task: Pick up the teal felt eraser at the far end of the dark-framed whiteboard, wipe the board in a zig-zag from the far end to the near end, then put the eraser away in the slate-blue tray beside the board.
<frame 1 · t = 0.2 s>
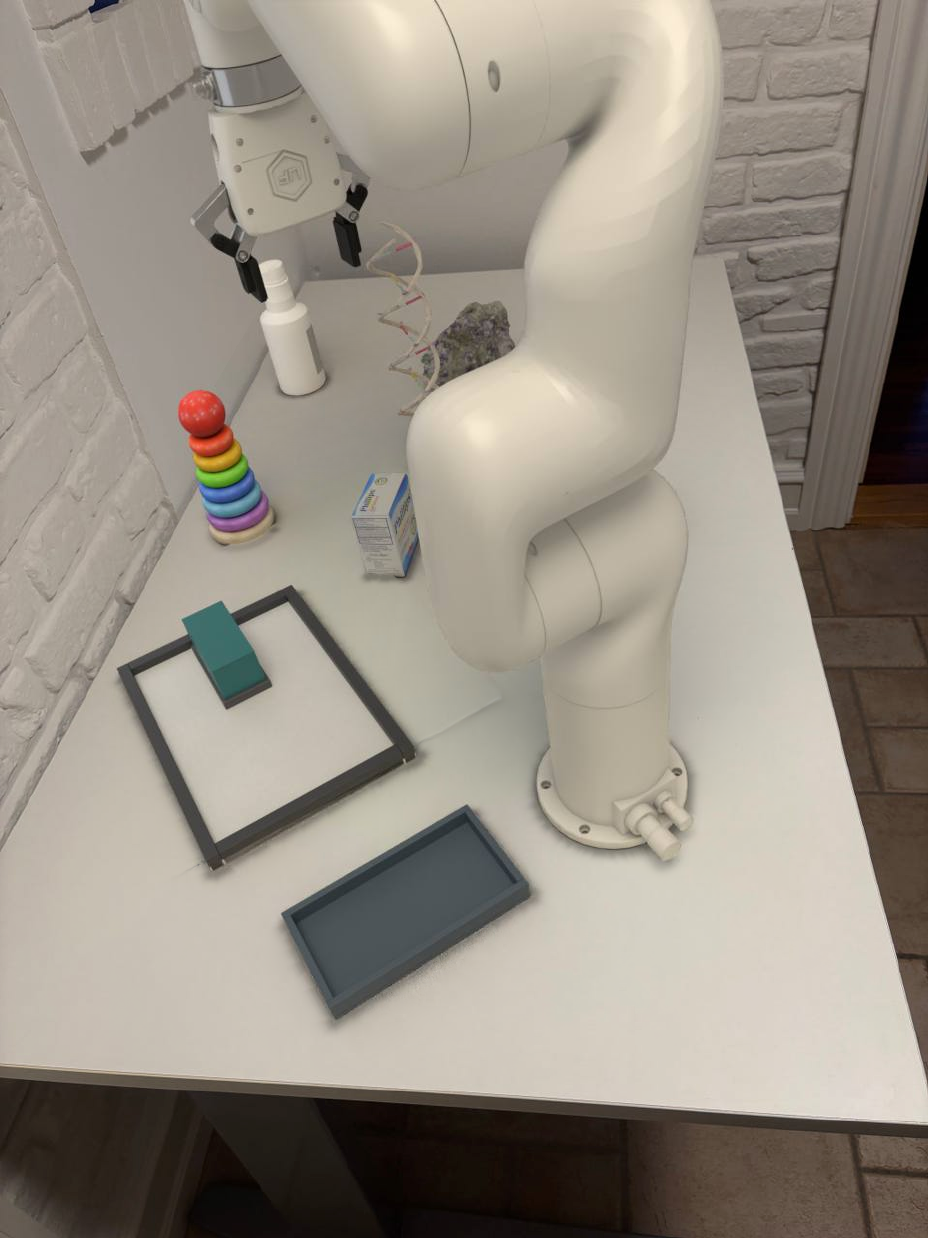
hand: (306, 279, 90), 31 cm above the table, tool pointing down, fingers open, 9 cm apart
spray bottle: (303, 385, 140), on the table
eraser: (232, 669, 97), point 1 cm above the table, touching whiteboard
dna model: (434, 468, 120), on the table
tray: (408, 911, 75), on the table
medicine box: (394, 556, 108), on the table
whiteboard: (259, 716, 93), on the table
mineral rock: (472, 372, 136), on the table
disk drive: (590, 525, 107), on the table
stacking toy: (244, 528, 116), on the table
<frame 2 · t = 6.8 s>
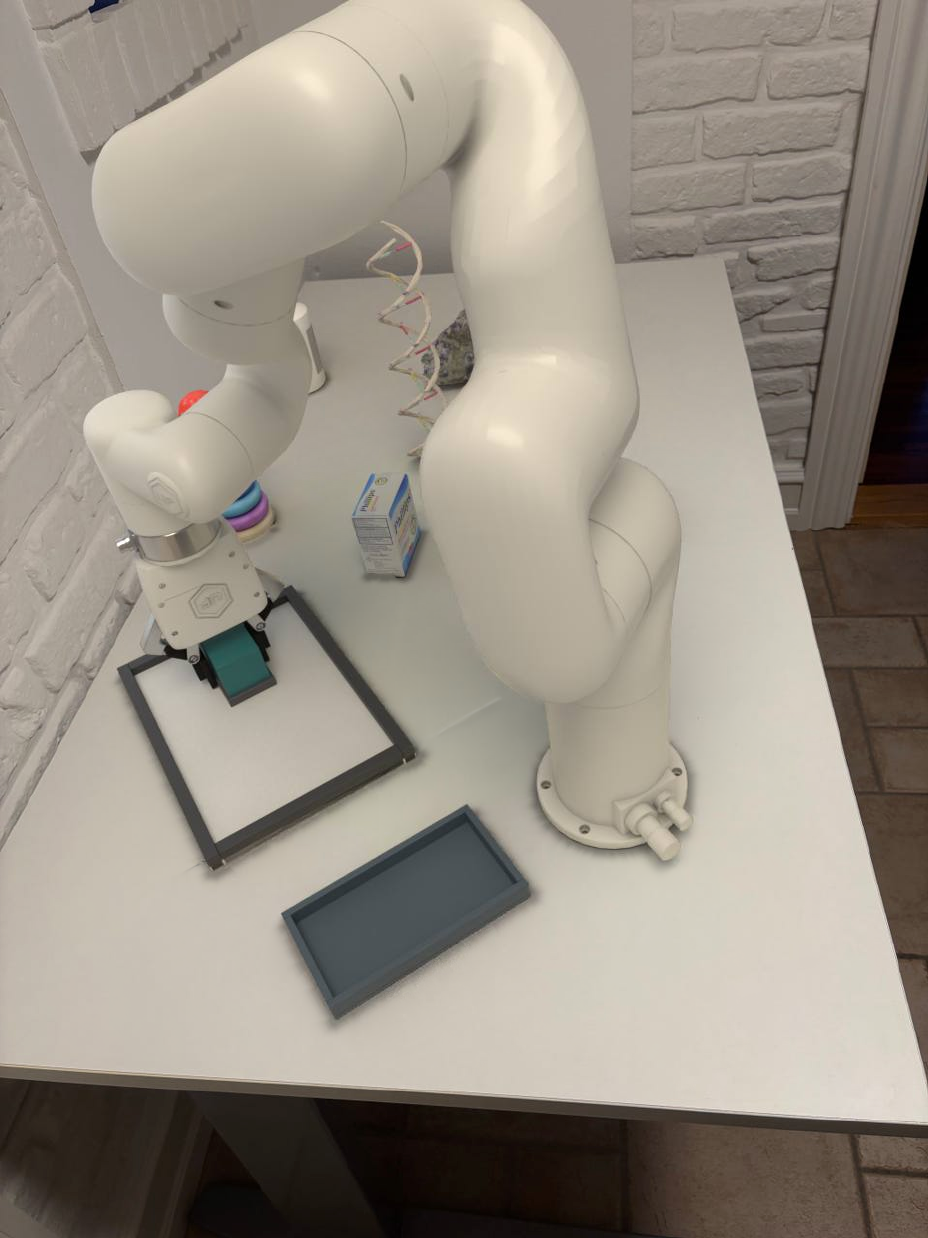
hand: (236, 665, 97), 1 cm above the table, tool pointing down, fingers closed on eraser, 5 cm apart
eraser: (236, 667, 97), point 1 cm above the table, touching gripper
everything else where it was.
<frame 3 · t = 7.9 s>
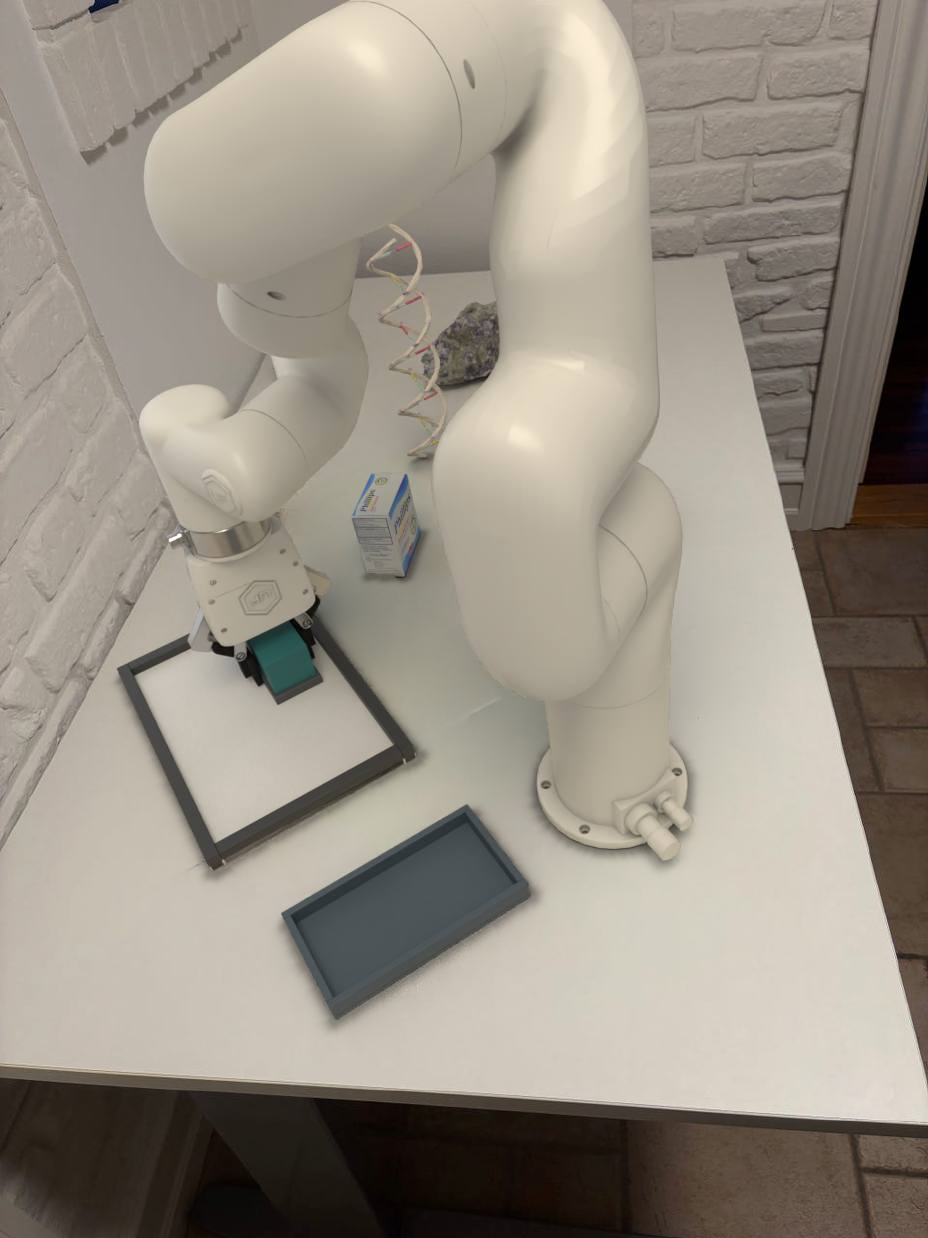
hand: (281, 663, 96), 1 cm above the table, tool pointing down, fingers closed on eraser, 5 cm apart
eraser: (281, 664, 97), point 1 cm above the table, touching gripper
everything else where it was.
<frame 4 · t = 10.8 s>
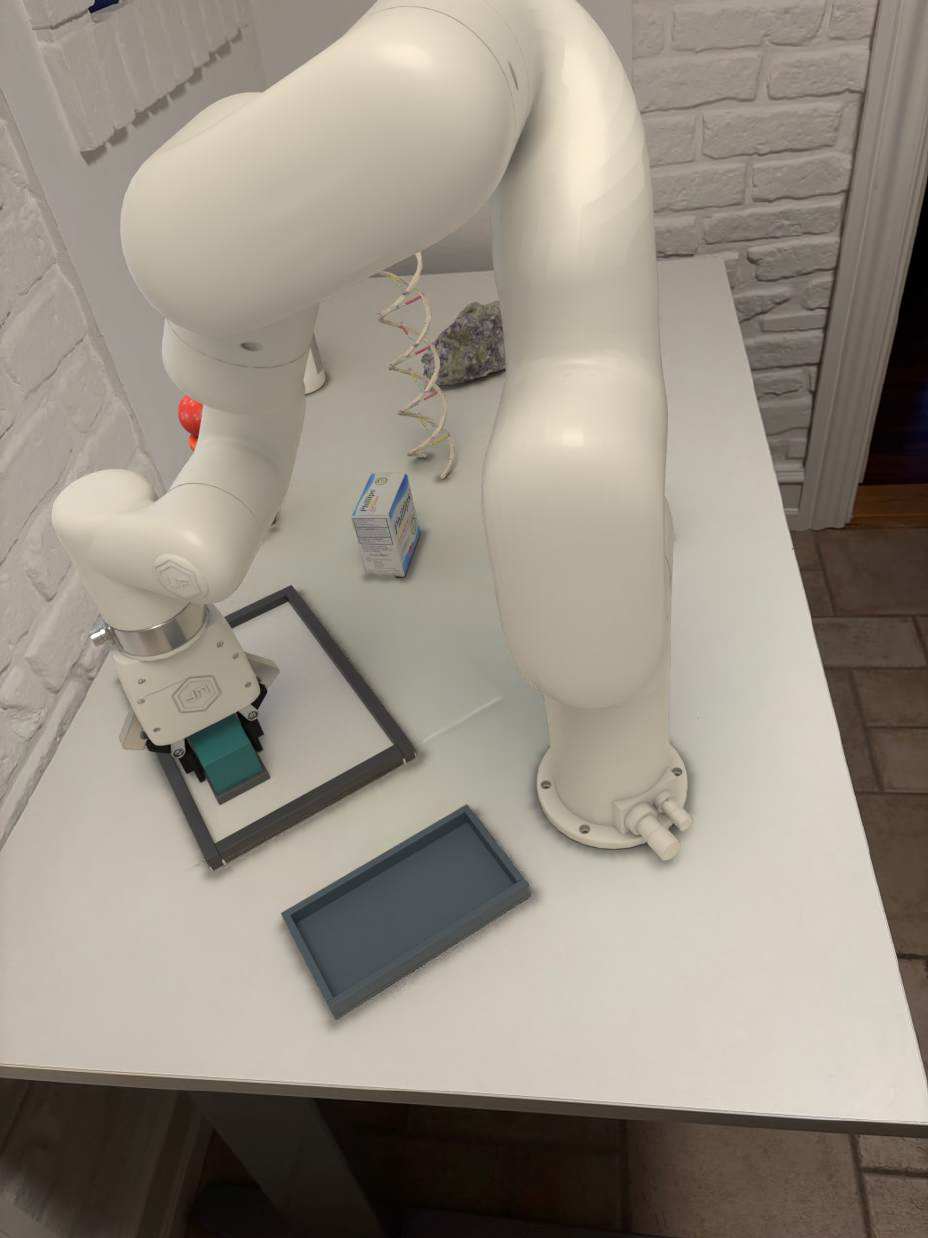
hand: (226, 755, 89), 1 cm above the table, tool pointing down, fingers closed on eraser, 5 cm apart
eraser: (226, 756, 89), point 1 cm above the table, touching gripper
everything else where it was.
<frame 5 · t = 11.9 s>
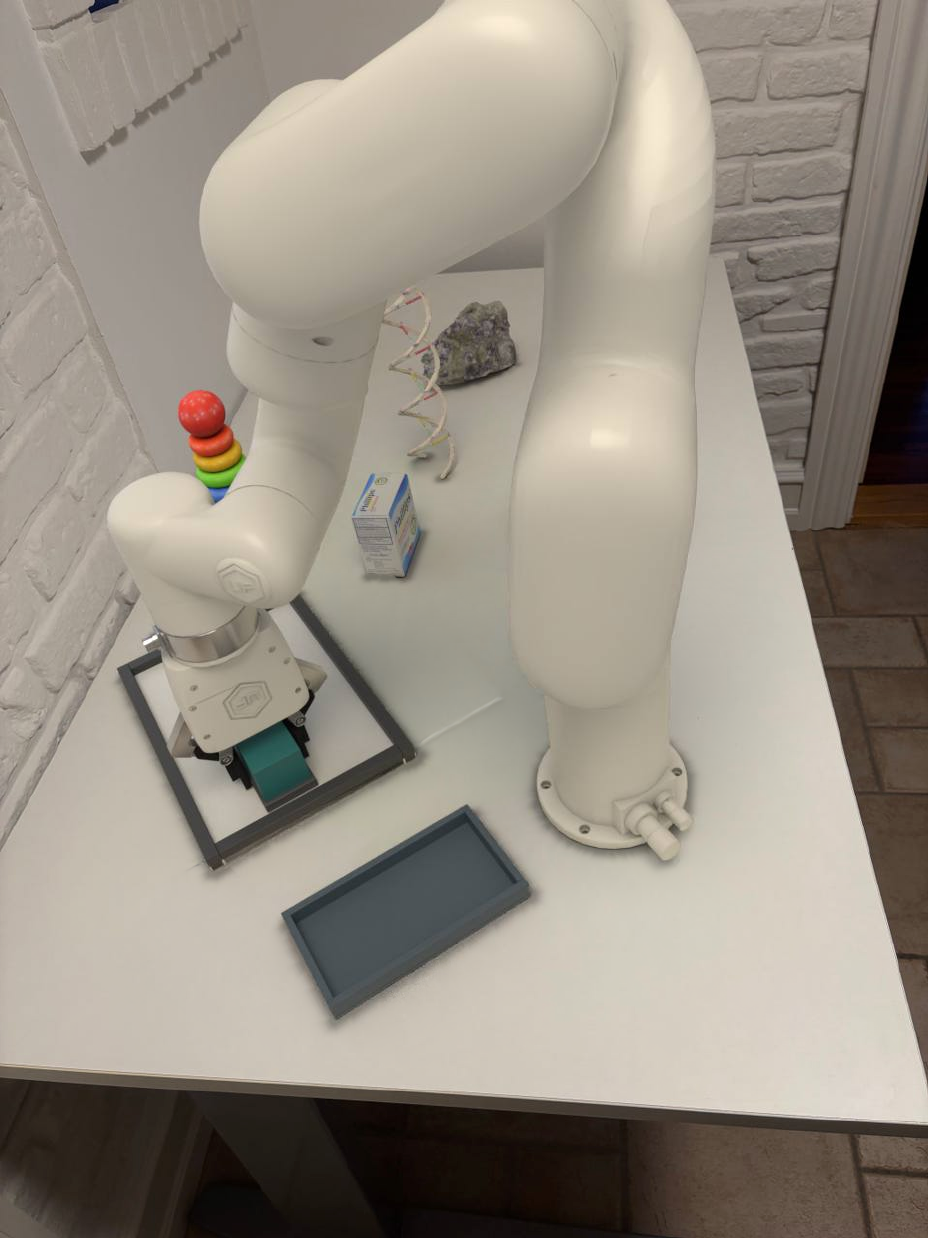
hand: (271, 761, 87), 1 cm above the table, tool pointing down, fingers closed on eraser, 5 cm apart
eraser: (272, 763, 87), point 1 cm above the table, touching gripper
everything else where it was.
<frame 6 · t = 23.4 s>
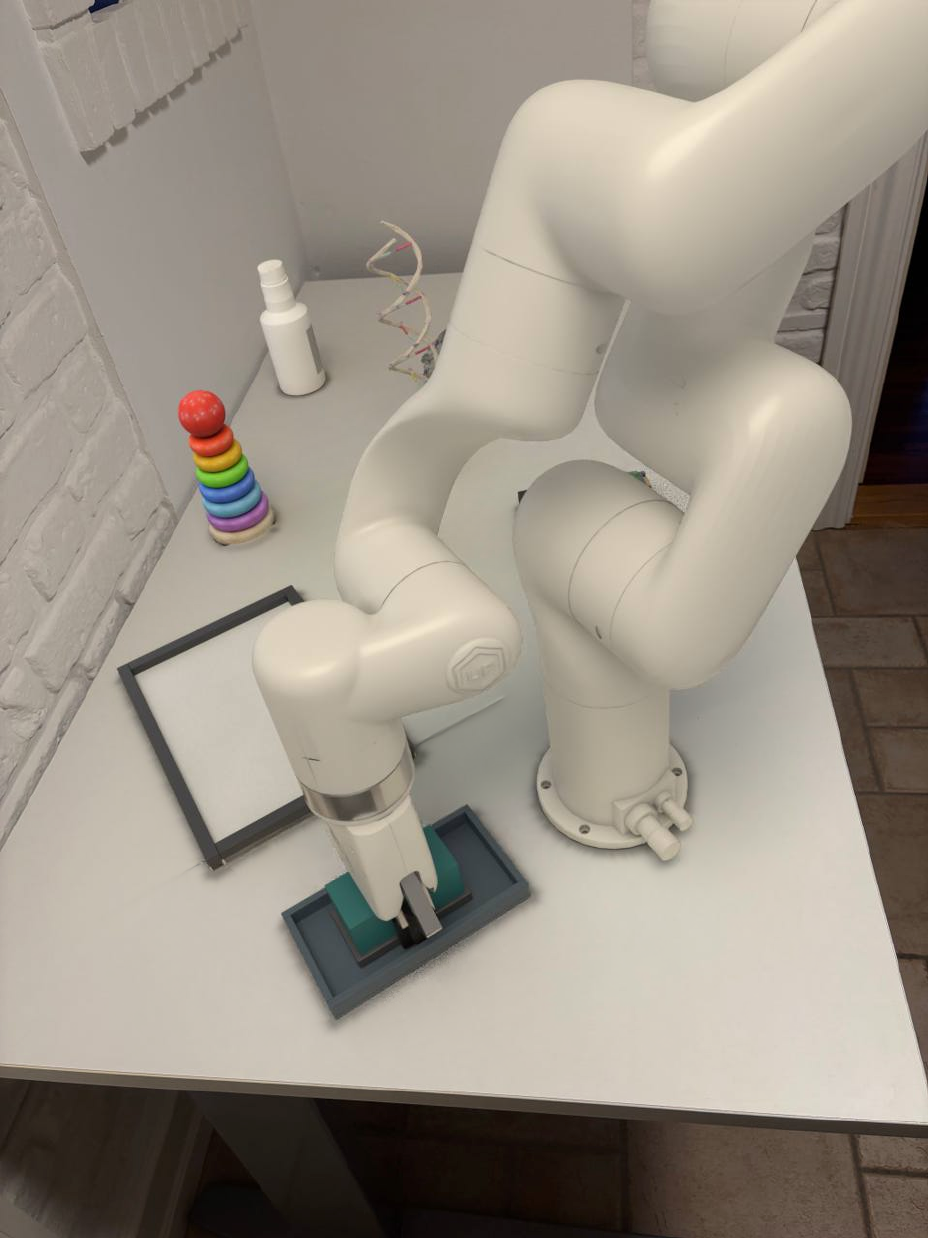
hand: (403, 907, 75), 1 cm above the table, tool pointing down, fingers closed on eraser, 4 cm apart
eraser: (402, 909, 75), point 1 cm above the table, touching gripper
everything else where it was.
when the fingers open (2 cm above the table, at t = 27.4 s): eraser drops 1 cm, resting on tray.
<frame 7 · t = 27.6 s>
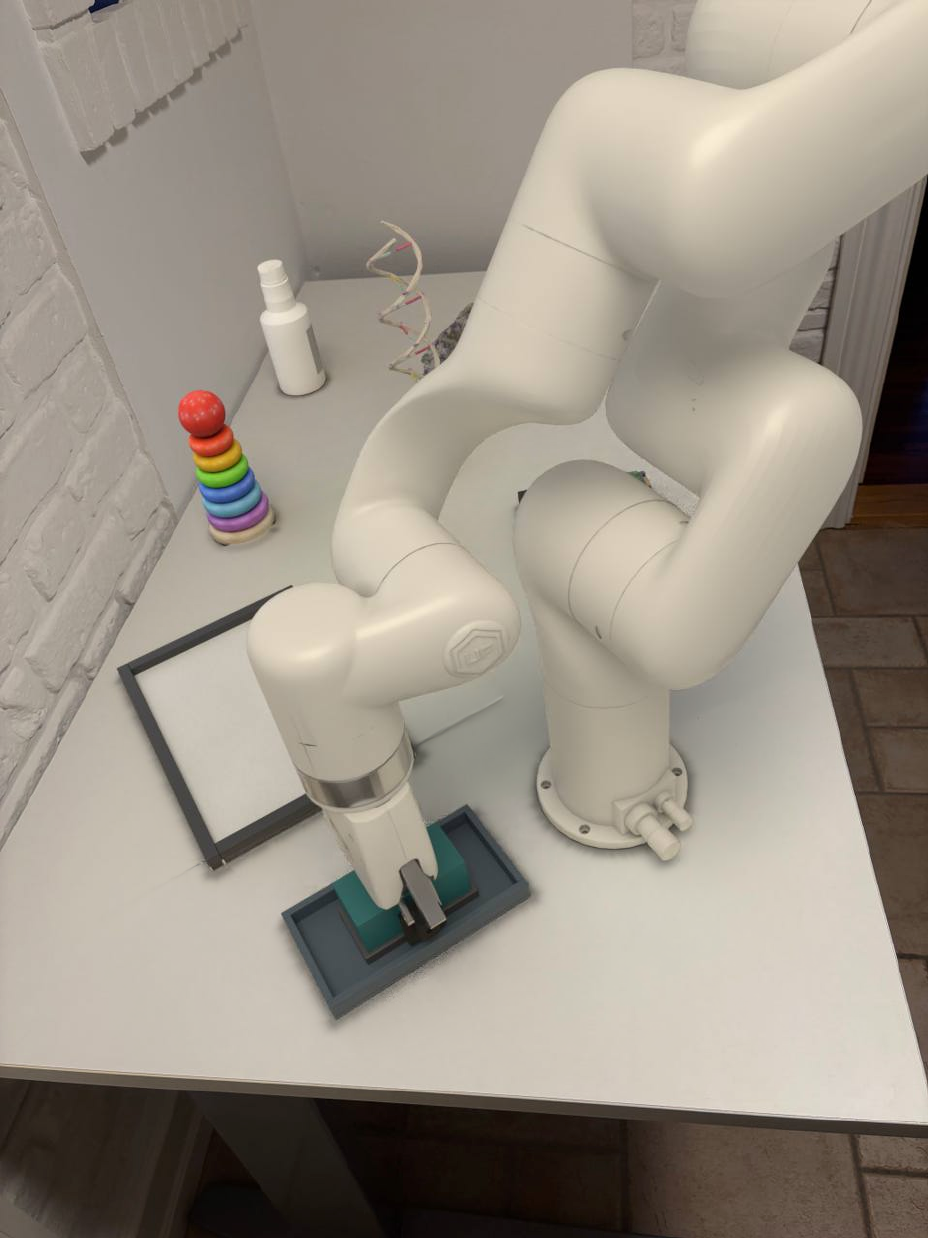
hand: (403, 894, 74), 2 cm above the table, tool pointing down, fingers open, 6 cm apart
eraser: (409, 906, 75), resting on tray
everything else where it was.
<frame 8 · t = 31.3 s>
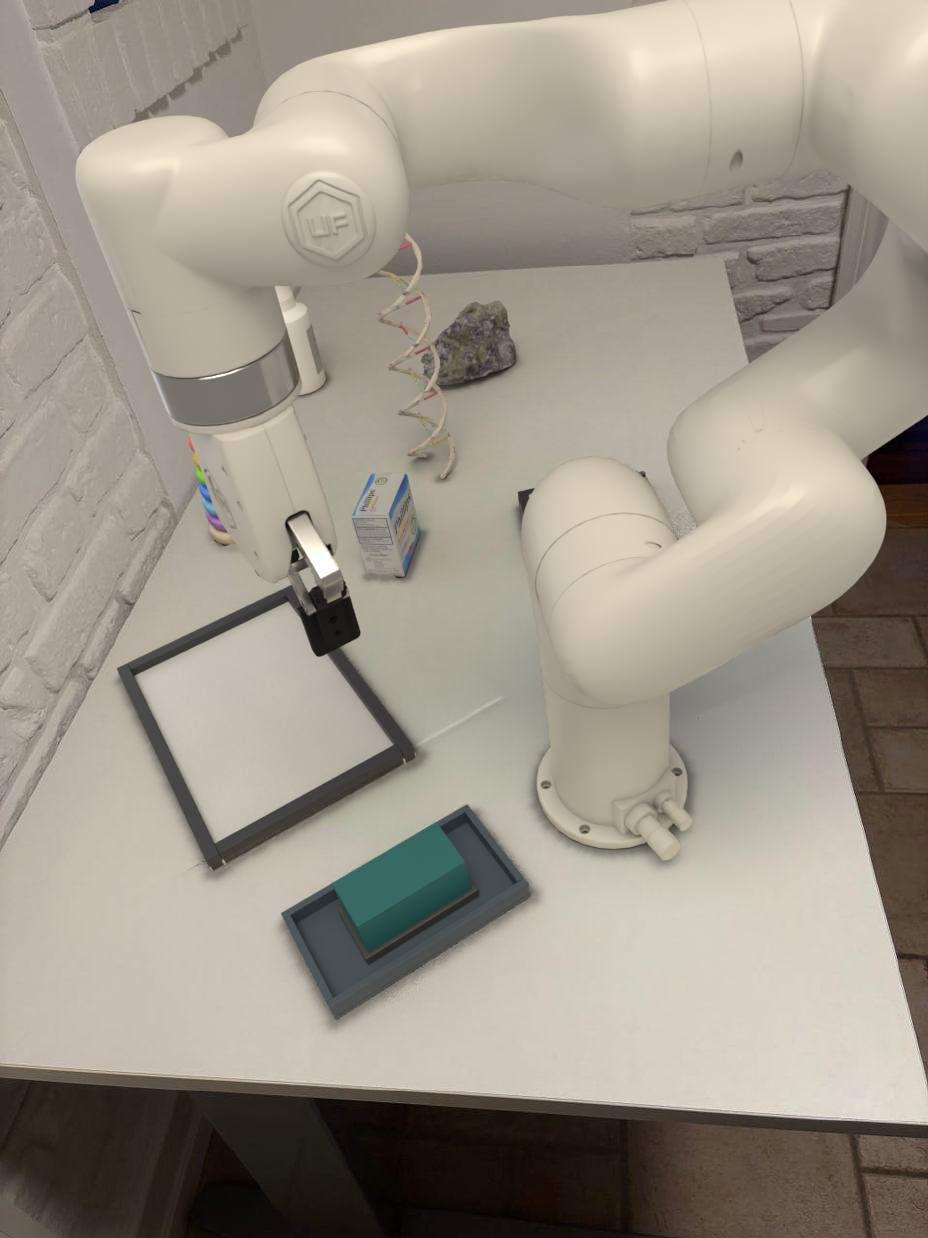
hand: (306, 604, 63), 26 cm above the table, tool pointing down, fingers open, 9 cm apart
nothing on the table moved.
at the end: eraser inside the target area in the tray (0.3 cm from its centre), point 0.5 cm above the tray's base; eraser moved 34.1 cm from its start; the gripper is holding nothing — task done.
